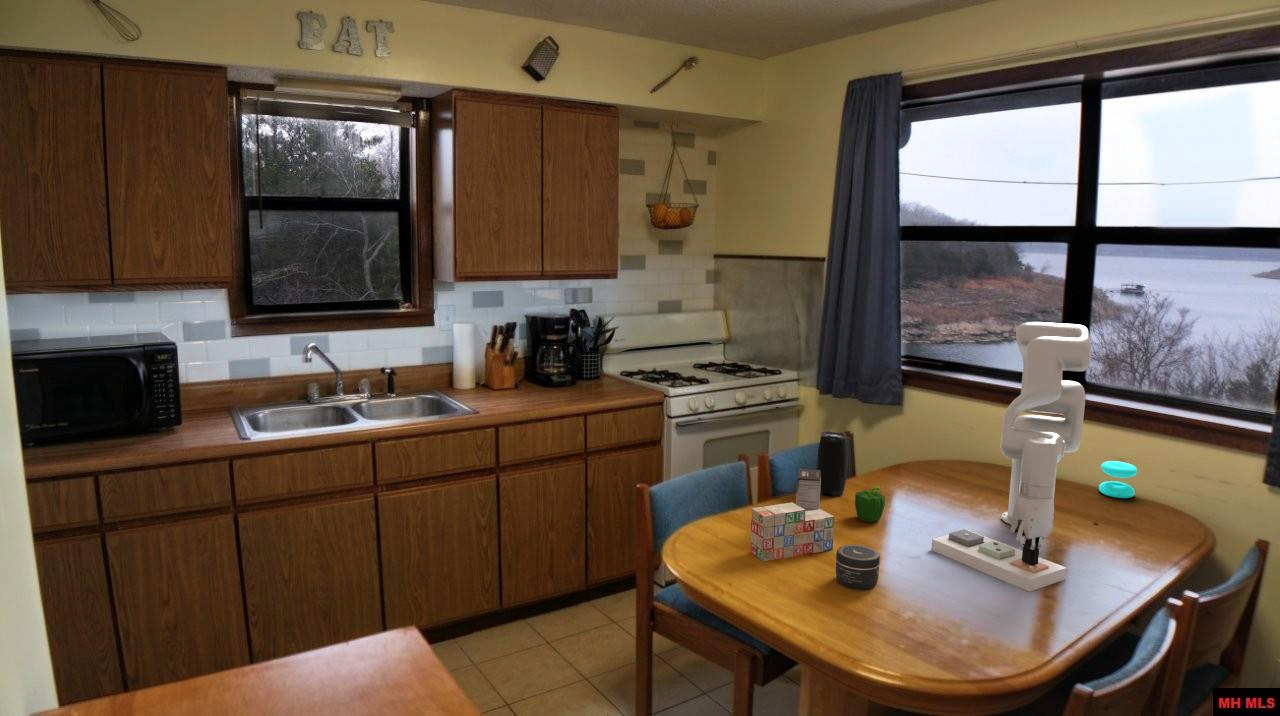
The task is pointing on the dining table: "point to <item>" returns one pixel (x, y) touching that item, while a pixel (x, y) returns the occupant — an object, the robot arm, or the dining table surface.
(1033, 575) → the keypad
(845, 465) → the portable speaker
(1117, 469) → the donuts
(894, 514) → the dining table surface
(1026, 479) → the robot arm
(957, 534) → the tile one
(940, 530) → the dining table surface
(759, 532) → the stack of blocks
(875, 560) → the jar
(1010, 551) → the tile two
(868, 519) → the bell pepper
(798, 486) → the coffee box
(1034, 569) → the tile three
